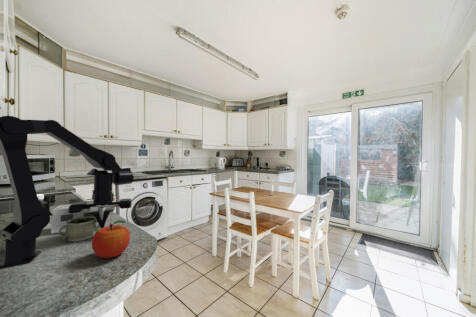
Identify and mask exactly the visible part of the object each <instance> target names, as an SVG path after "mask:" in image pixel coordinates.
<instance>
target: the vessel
mask: <svg viewBox="0 0 476 317" xmlns="http://www.w3.org/2000/svg"><path fill="white" fill-rule="evenodd" d="M96 222H98V221H97V219H96V218H95V217H92V216H88V217H79V218H74V219H71V220H68V221H67V222H66V224H67V225H64V226H62V227H61V228H60V230H59V233H58V234H59V236H61V239H62V240H66V239H67V241H69V242H80V241H84V240H88V239H91V238H93V236H94V235H95V233H96V232H97V231H98V230H99V229H101V228H100V225H99V226H98V227H96ZM65 228H66V232H64V233H63V232H62V233H61V230H62V229H65ZM94 232H95V233H94ZM67 237H68V238H67Z"/></svg>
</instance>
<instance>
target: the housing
mask: <svg viewBox="0 0 476 317" xmlns="http://www.w3.org/2000/svg"><path fill="white" fill-rule="evenodd" d="M92 203H93V202H89V203H88V202H87V204H92ZM70 205H71V204H61V205H58V206H57V207H54V208H52V209H51V213H52V214H53V215H52V216H51V220H50V222H51V227H50V233H51V234H59V230H60V228H61V227H62V226H64V225H67V224H66V222H67V221H68V220H71V219H74V218H79V217H88V216H92V217H94V215H93V214H89V212H90V209H83V210H82V211H81V212H79V213H68V208H69V206H70ZM98 206H99V205H98ZM105 209H106V208H102V217H103V212H104V210H105ZM98 226H99V223H98V222H96V227H98ZM99 229H101V227H100V228H99ZM65 232H66V228H65V229H62V230H61V233H62V234H63V233H65ZM51 234H50V235H51Z"/></svg>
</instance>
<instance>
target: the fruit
mask: <svg viewBox="0 0 476 317" xmlns="http://www.w3.org/2000/svg"><path fill="white" fill-rule="evenodd" d="M118 223H120V224H126V222H125V220H121V219H120V220H119V219H118V220H116V221H114V222H113V223H109V226H104V228H99V230H98V231H97V232H96V231H95V233H94V236H93V237H92V239H91V248H92V250H93V253H94V254H95V256H98V257H99V258H101V259H112V258H115V257H117V256H120V255H121V254H122V253H124V252H125V250H126V249H127V247H128V246H129V243H130V240H131V234H130V230H129V229H128V227H126V226H125V225H119V224H118ZM115 224H118V225H115Z"/></svg>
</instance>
